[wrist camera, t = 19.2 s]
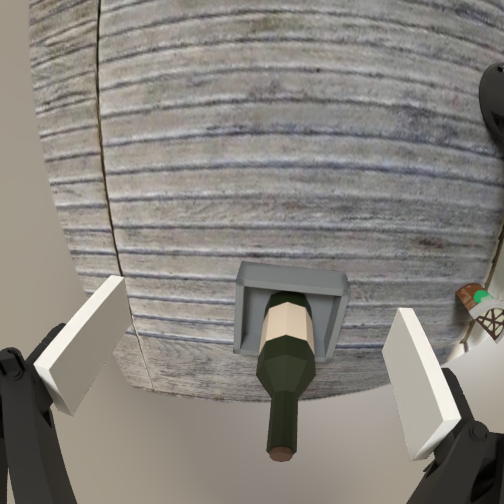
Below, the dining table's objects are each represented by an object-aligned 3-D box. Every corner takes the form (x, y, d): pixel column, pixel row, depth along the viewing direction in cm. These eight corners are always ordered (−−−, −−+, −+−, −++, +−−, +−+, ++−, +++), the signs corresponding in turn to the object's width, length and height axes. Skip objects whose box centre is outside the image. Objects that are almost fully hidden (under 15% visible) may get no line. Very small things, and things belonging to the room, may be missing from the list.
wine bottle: (320, 307, 56) (333, 456, 29) (288, 333, 59) (281, 476, 32) (287, 280, 54) (280, 431, 27) (255, 308, 57) (228, 454, 30)
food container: (496, 296, 52) (518, 323, 43) (478, 316, 54) (497, 345, 45) (472, 266, 50) (496, 293, 41) (451, 288, 52) (472, 318, 43)
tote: (345, 272, 53) (350, 290, 48) (327, 342, 60) (330, 362, 55) (241, 261, 55) (236, 278, 49) (237, 333, 61) (233, 353, 56)
